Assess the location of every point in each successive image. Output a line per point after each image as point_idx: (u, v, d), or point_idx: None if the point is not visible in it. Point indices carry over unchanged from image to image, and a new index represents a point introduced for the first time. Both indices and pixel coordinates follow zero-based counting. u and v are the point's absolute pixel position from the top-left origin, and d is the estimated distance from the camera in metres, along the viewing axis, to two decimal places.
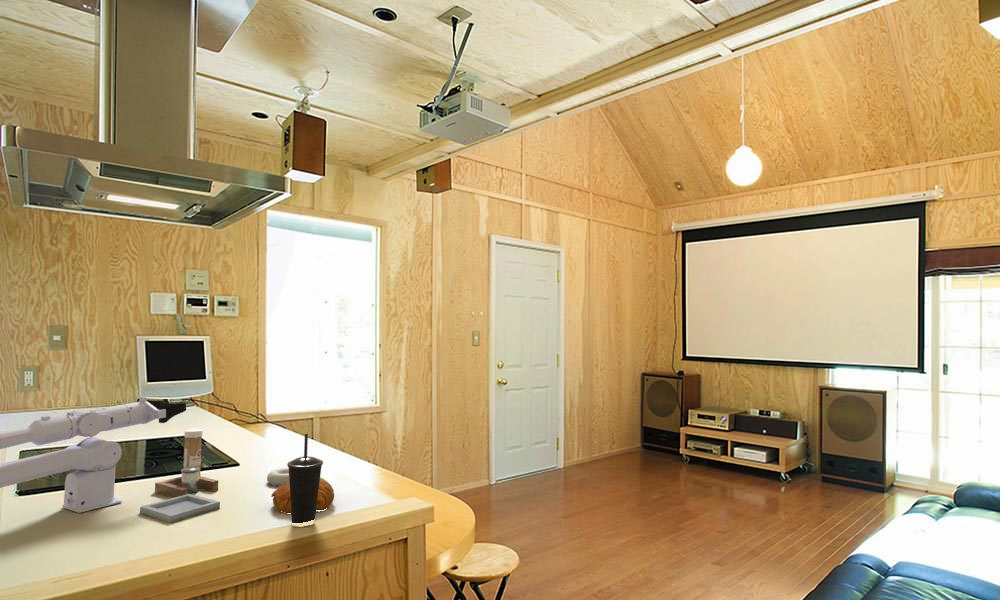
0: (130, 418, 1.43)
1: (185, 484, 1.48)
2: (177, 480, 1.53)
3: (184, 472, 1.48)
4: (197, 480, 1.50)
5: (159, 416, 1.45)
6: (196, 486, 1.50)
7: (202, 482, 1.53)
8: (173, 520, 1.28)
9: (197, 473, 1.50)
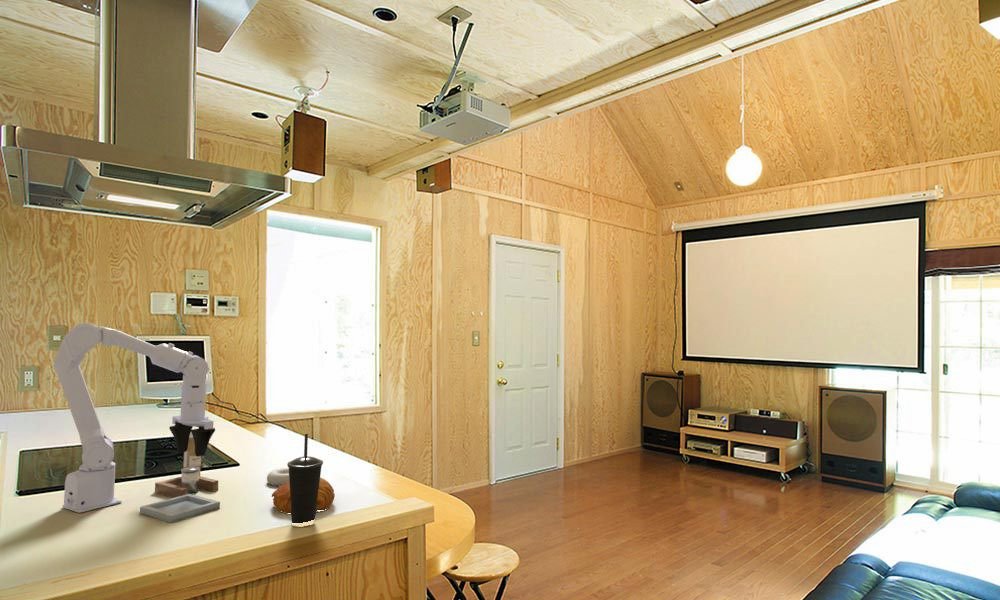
0: (198, 403, 1.49)
1: (185, 484, 1.48)
2: (177, 480, 1.53)
3: (184, 472, 1.48)
4: (197, 480, 1.50)
5: (208, 422, 1.47)
6: (196, 486, 1.50)
7: (202, 482, 1.53)
8: (173, 520, 1.28)
9: (197, 473, 1.50)
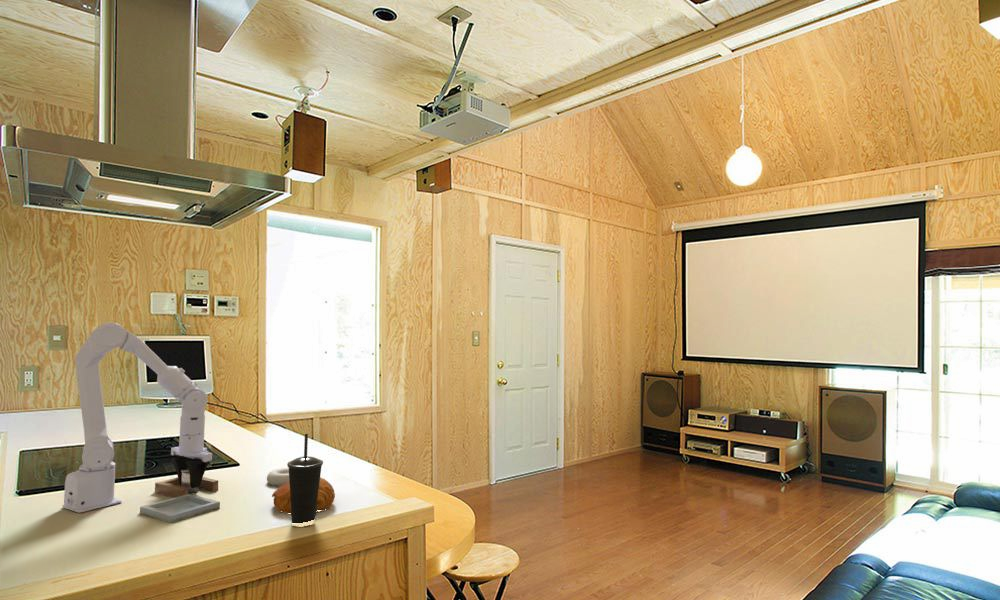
0: (197, 435, 1.49)
1: (185, 484, 1.48)
2: (177, 480, 1.53)
3: (184, 472, 1.48)
4: None
5: (207, 455, 1.47)
6: None
7: (202, 482, 1.53)
8: (173, 520, 1.28)
9: None
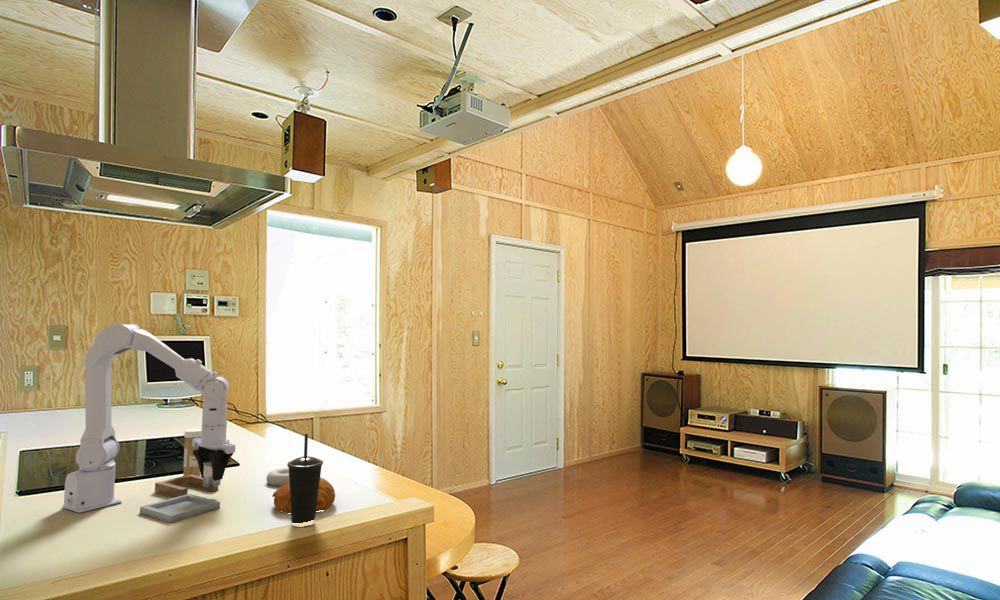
0: (219, 426, 1.45)
1: (207, 477, 1.44)
2: (177, 480, 1.53)
3: (206, 464, 1.44)
4: None
5: (230, 447, 1.42)
6: None
7: (202, 482, 1.53)
8: (173, 520, 1.28)
9: None
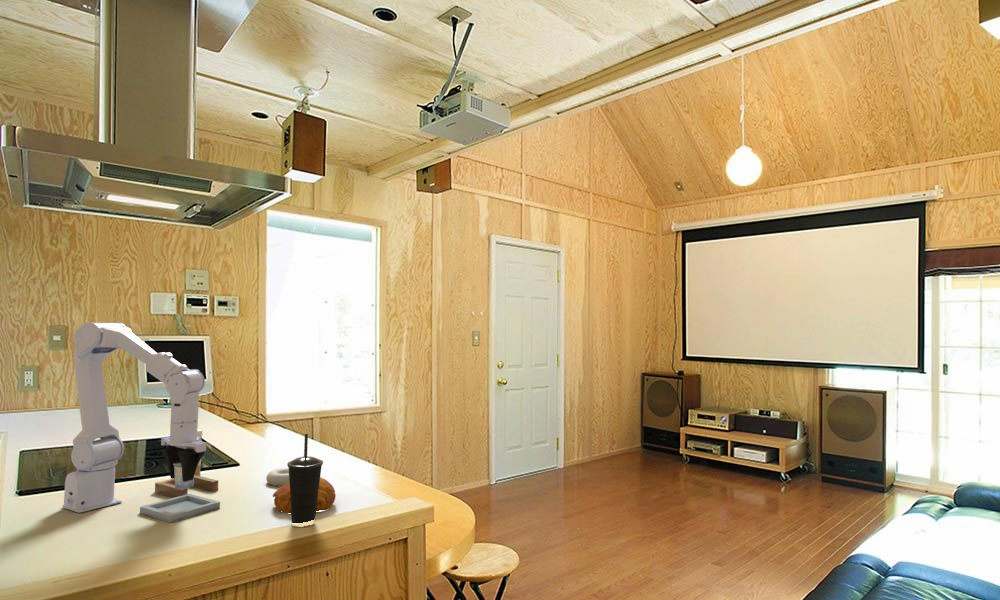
0: (189, 422, 1.35)
1: (179, 478, 1.34)
2: None
3: (177, 466, 1.34)
4: None
5: (200, 445, 1.32)
6: None
7: (202, 482, 1.53)
8: (173, 520, 1.28)
9: None
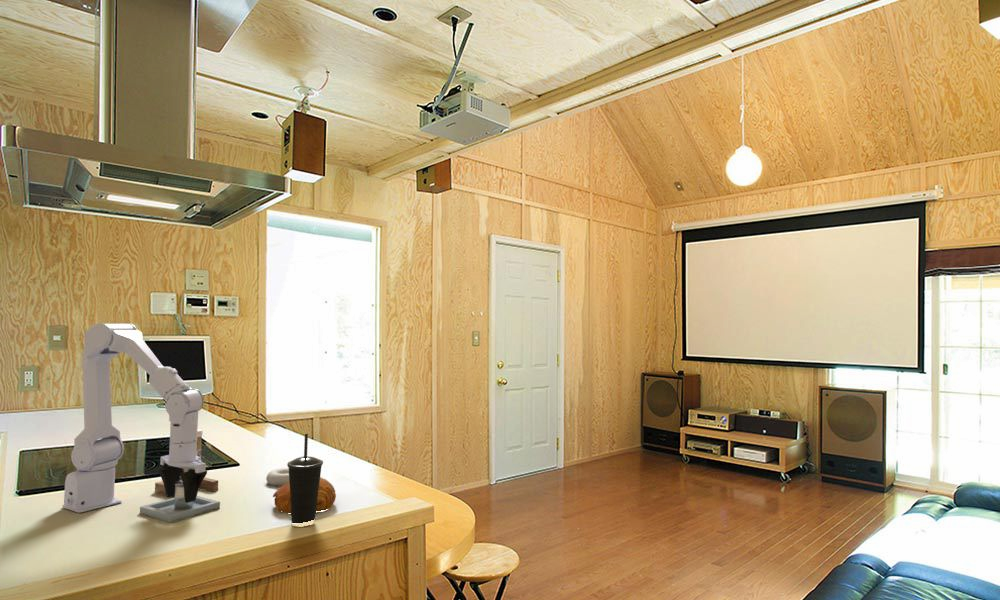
0: (188, 443, 1.35)
1: (179, 499, 1.34)
2: None
3: (178, 485, 1.35)
4: None
5: (199, 465, 1.32)
6: None
7: (202, 482, 1.53)
8: (173, 520, 1.28)
9: None
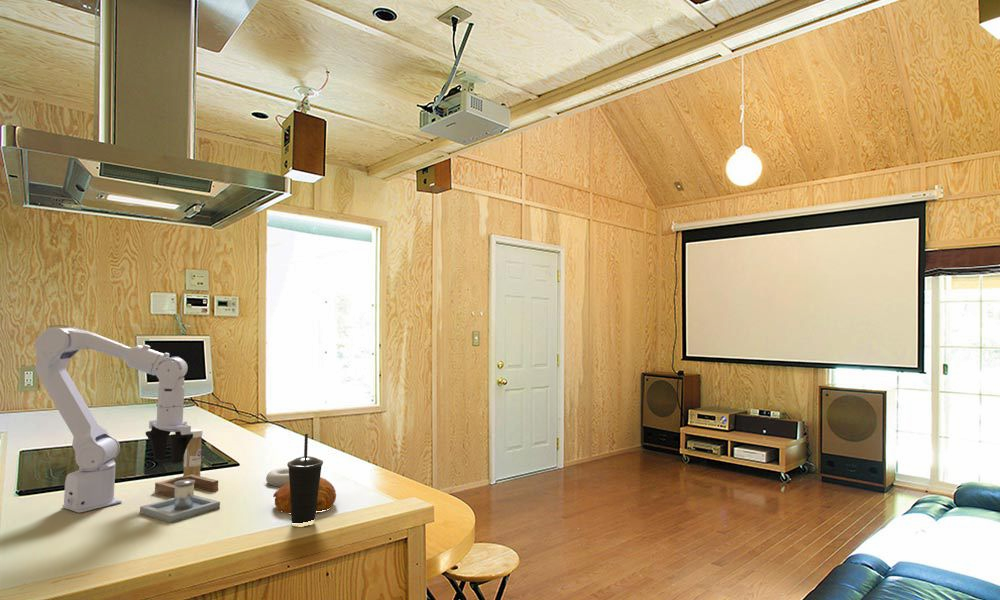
0: (175, 407, 1.42)
1: (179, 499, 1.34)
2: (177, 480, 1.53)
3: (177, 485, 1.35)
4: (192, 494, 1.36)
5: (185, 428, 1.39)
6: (191, 501, 1.36)
7: (202, 482, 1.53)
8: (173, 520, 1.28)
9: (192, 486, 1.36)
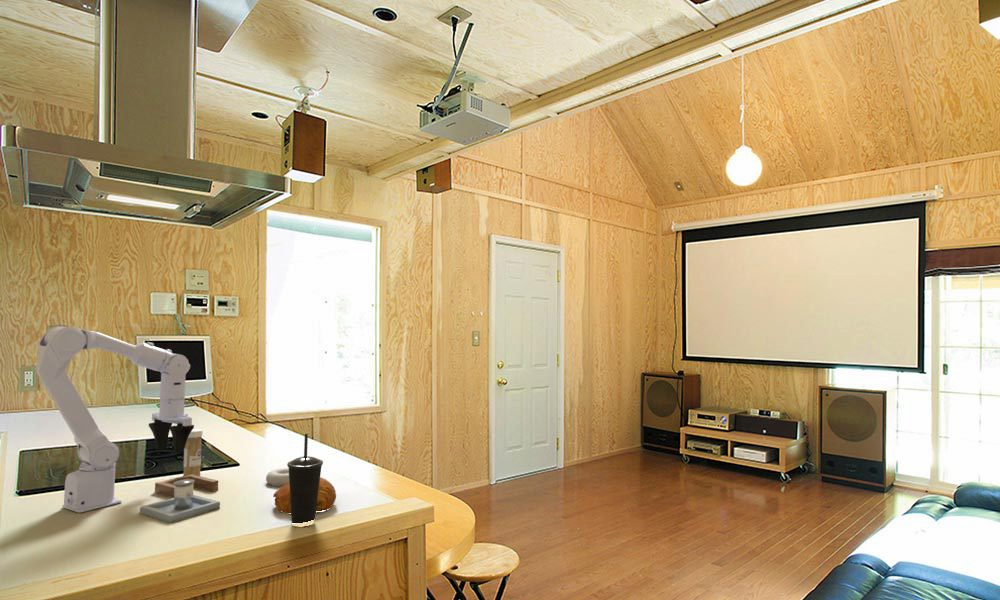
0: (177, 400, 1.50)
1: (178, 498, 1.34)
2: (177, 480, 1.53)
3: (177, 485, 1.35)
4: (191, 494, 1.36)
5: (186, 419, 1.48)
6: (190, 500, 1.36)
7: (202, 482, 1.53)
8: (173, 520, 1.28)
9: (191, 486, 1.36)
